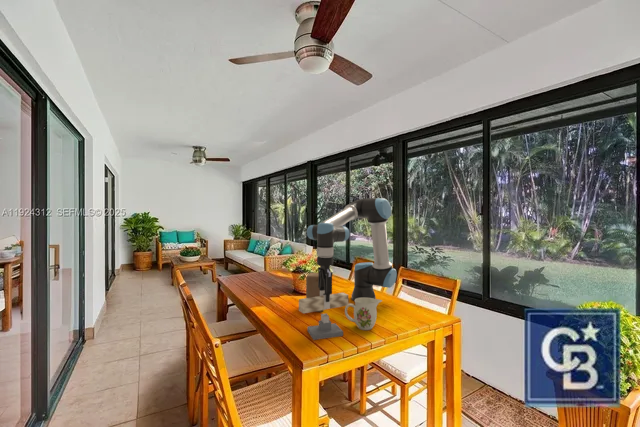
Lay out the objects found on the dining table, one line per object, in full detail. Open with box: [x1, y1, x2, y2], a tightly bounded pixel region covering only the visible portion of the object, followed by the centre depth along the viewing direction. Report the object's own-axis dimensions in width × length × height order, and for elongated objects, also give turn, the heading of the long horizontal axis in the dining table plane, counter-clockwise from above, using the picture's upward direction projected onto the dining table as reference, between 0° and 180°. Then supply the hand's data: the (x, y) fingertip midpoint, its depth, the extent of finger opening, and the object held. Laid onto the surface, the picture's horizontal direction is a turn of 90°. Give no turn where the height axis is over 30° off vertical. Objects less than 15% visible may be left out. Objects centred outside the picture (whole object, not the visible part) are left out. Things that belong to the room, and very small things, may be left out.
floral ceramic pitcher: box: [344, 297, 383, 331], centre depth 143 cm, size 11×18×14 cm, turn 76°
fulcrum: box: [307, 313, 344, 341], centre depth 136 cm, size 14×10×8 cm
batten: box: [298, 292, 349, 314], centre depth 135 cm, size 24×4×5 cm, turn 121°
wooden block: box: [305, 272, 324, 313], centre depth 169 cm, size 10×10×20 cm
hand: (324, 306), depth 136 cm, fingers closed on batten, 5 cm apart
